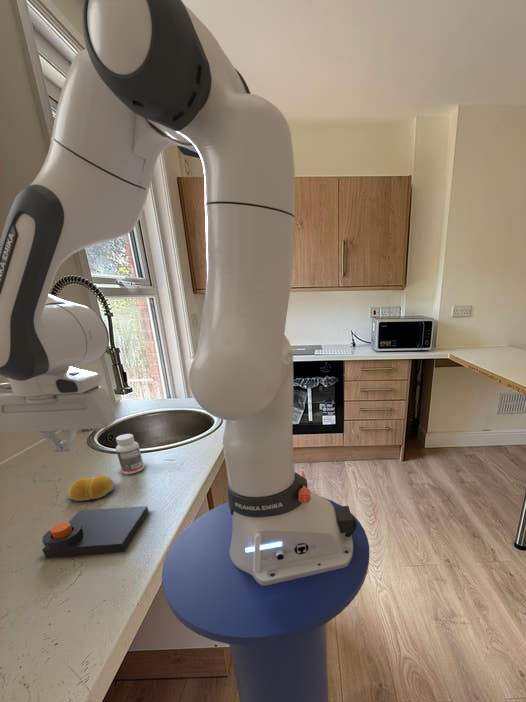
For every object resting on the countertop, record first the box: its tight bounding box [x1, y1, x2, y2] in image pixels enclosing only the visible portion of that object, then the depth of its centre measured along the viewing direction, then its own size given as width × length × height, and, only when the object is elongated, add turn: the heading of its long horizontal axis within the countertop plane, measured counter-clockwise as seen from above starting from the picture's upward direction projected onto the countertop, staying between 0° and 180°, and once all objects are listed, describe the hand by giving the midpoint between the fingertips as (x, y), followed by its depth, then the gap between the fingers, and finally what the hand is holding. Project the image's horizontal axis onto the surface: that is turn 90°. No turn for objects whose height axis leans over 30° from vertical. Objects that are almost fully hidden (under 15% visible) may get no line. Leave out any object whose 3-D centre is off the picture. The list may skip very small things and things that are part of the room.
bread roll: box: [67, 475, 115, 502], centre depth 83 cm, size 8×9×4 cm
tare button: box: [49, 521, 72, 539], centre depth 65 cm, size 3×3×2 cm
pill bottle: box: [115, 433, 145, 475], centre depth 92 cm, size 5×5×10 cm
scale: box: [42, 505, 150, 558], centre depth 69 cm, size 14×12×4 cm
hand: (65, 450), depth 68 cm, fingers closed
